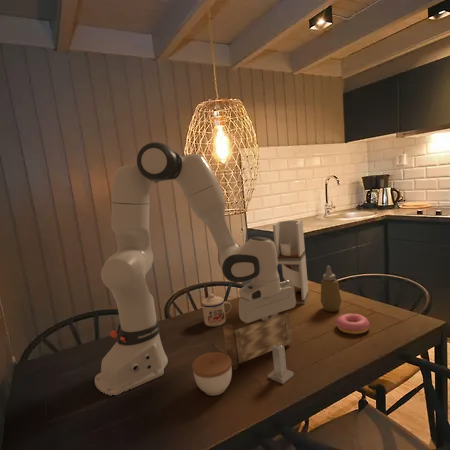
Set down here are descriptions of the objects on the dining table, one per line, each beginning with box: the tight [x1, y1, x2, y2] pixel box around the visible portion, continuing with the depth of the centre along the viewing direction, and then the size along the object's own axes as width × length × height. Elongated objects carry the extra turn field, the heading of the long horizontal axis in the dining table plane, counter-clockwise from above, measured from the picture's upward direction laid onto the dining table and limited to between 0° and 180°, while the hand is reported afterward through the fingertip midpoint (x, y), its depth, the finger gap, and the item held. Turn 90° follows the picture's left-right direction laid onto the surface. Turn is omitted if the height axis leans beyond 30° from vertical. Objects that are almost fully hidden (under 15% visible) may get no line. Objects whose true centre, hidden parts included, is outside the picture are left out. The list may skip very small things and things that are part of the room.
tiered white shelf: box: [272, 219, 309, 305], centre depth 143 cm, size 11×11×35 cm
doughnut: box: [335, 312, 370, 335], centre depth 113 cm, size 11×11×4 cm
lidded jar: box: [191, 351, 233, 397], centre depth 88 cm, size 11×11×9 cm
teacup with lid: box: [201, 293, 232, 327], centre depth 131 cm, size 12×9×12 cm
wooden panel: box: [233, 312, 292, 364], centre depth 102 cm, size 20×2×10 cm, turn 117°
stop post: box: [267, 343, 295, 385], centre depth 90 cm, size 5×5×9 cm
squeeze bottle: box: [320, 265, 342, 313], centre depth 129 cm, size 8×8×18 cm
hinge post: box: [222, 324, 239, 371], centre depth 97 cm, size 3×3×13 cm
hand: (270, 327), depth 105 cm, fingers closed, pressing on wooden panel
